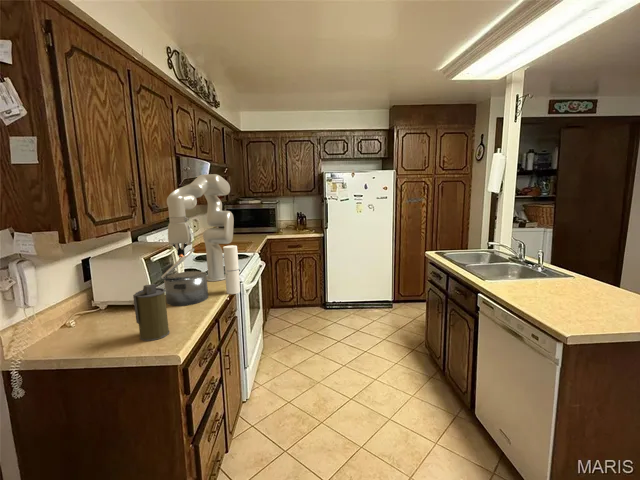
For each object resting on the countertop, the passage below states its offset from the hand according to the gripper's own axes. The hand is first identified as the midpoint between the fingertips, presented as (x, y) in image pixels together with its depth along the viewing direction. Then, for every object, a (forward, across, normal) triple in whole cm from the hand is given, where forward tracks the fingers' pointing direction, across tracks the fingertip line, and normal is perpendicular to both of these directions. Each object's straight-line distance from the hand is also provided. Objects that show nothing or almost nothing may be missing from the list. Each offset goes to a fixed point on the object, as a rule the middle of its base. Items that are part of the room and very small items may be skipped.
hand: (181, 256), depth 167 cm
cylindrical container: (+22, -23, -7) cm, 33 cm away
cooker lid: (+4, +1, 0) cm, 4 cm away
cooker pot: (+22, -1, 0) cm, 22 cm away
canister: (+22, 0, +42) cm, 48 cm away
